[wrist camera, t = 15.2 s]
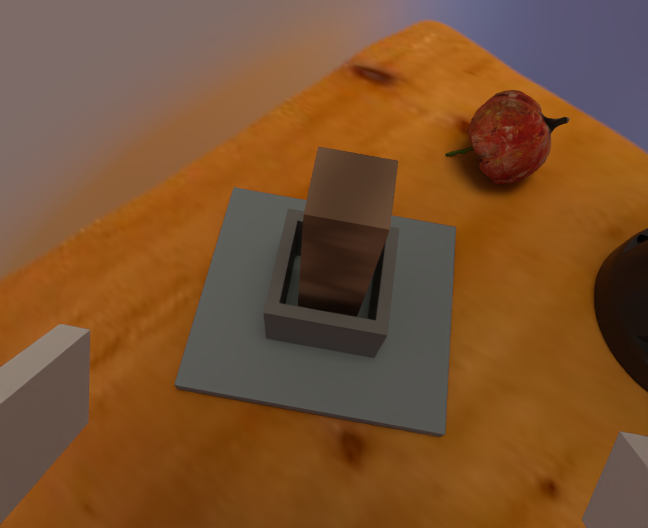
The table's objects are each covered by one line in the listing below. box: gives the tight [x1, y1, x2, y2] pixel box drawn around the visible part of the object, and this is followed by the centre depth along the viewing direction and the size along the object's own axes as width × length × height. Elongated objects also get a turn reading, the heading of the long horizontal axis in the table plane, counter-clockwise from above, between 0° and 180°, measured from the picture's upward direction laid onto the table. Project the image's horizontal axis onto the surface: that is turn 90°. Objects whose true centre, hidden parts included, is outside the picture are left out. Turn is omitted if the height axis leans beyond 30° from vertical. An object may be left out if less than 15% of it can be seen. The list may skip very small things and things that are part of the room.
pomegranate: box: [445, 90, 569, 184], centre depth 41 cm, size 7×7×10 cm
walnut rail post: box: [298, 147, 398, 317], centre depth 30 cm, size 4×4×14 cm
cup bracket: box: [175, 187, 456, 437], centre depth 35 cm, size 18×16×6 cm
